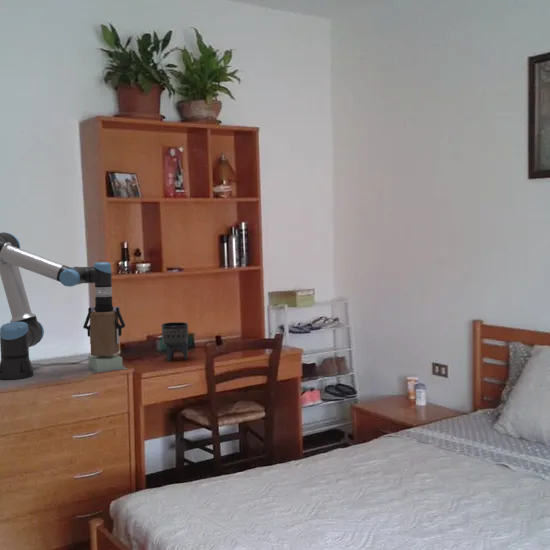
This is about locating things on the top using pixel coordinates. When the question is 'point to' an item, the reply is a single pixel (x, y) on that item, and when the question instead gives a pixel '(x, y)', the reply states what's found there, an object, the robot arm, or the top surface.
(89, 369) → the plate
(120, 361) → the base brick
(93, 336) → the wooden block
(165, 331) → the planter
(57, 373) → the top surface
